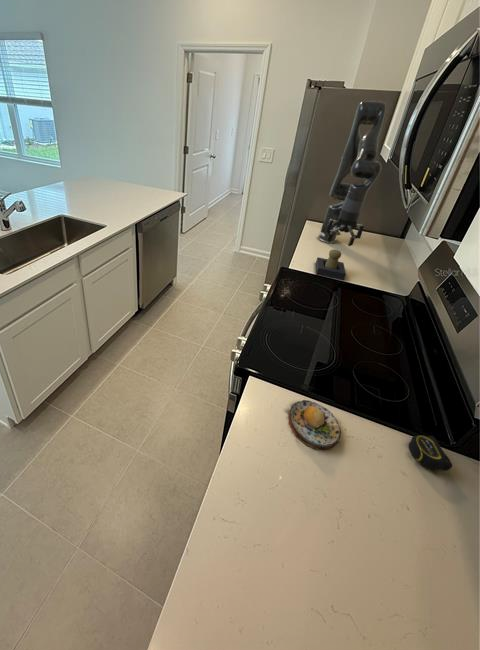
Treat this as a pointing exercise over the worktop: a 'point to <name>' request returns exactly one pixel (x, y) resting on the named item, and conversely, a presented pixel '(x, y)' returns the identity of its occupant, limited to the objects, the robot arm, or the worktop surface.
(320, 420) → the speckled dish
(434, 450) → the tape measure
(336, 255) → the olive flared shaker
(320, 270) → the base pad
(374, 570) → the worktop surface
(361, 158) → the robot arm
